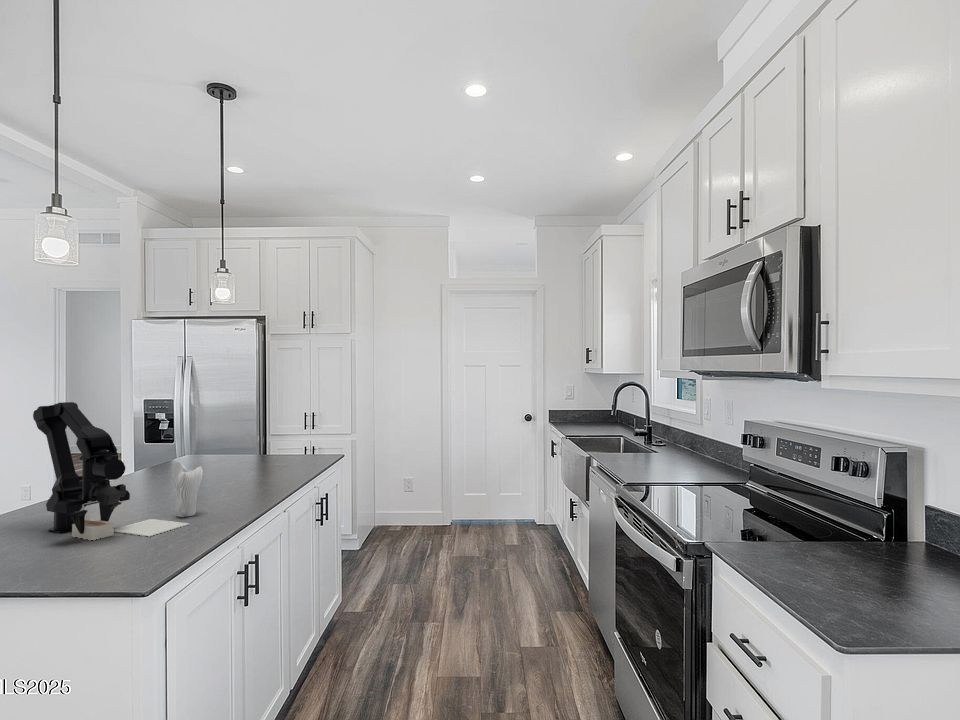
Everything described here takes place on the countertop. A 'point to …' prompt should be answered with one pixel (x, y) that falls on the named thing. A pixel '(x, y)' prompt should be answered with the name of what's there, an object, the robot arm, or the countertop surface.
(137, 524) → the mat
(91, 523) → the card box
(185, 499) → the shell sculpture
